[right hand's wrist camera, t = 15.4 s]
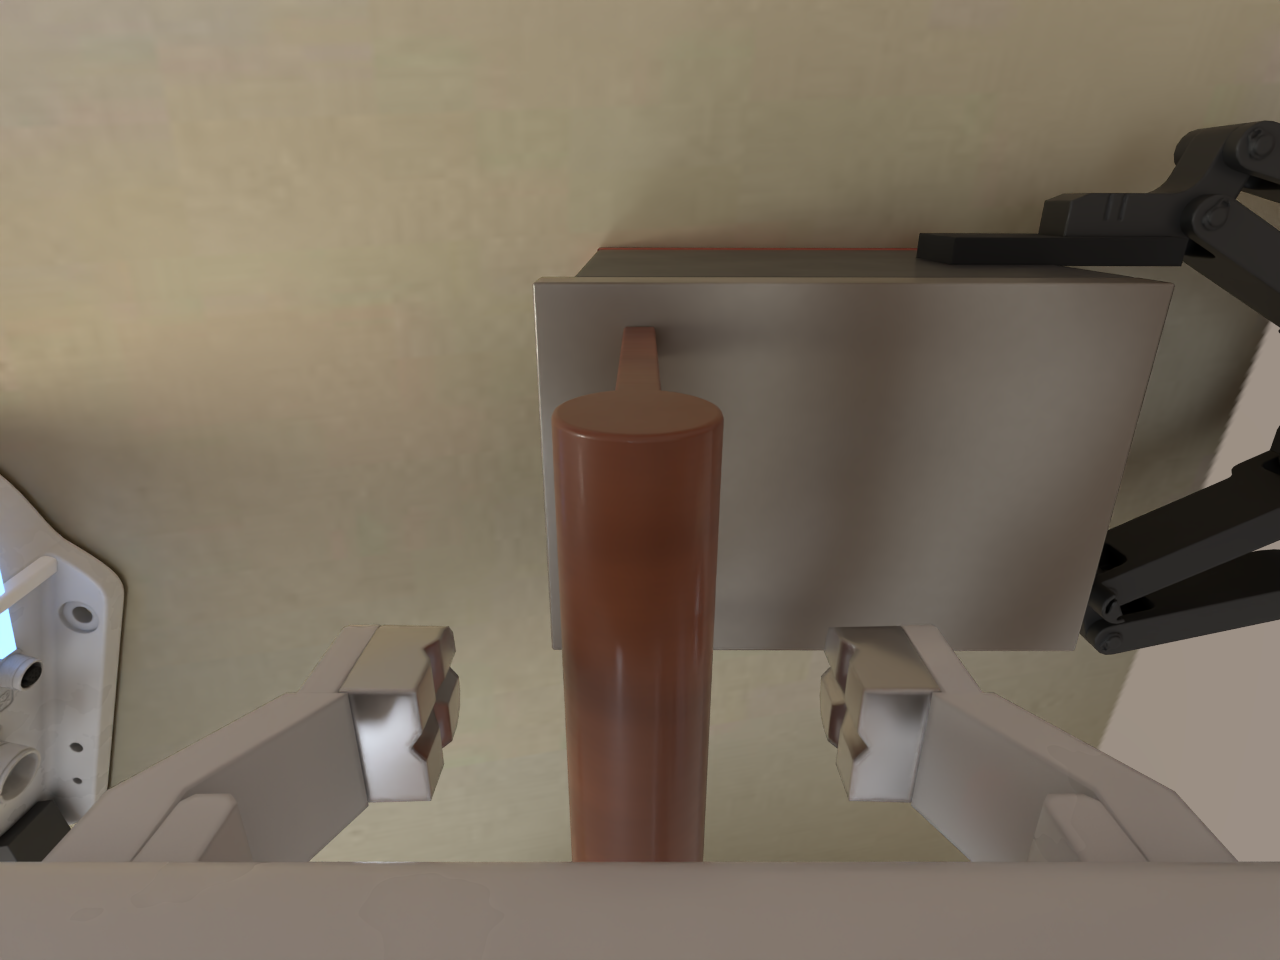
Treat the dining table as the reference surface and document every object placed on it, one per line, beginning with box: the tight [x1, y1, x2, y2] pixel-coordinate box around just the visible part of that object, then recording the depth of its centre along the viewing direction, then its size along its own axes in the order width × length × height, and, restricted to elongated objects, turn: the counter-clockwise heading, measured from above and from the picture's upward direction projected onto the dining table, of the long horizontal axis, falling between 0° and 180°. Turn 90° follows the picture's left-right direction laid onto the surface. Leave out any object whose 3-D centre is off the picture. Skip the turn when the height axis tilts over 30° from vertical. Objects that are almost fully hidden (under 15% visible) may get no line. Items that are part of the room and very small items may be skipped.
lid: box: [533, 277, 1174, 862], centre depth 14 cm, size 14×10×10 cm
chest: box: [575, 248, 1133, 278], centre depth 23 cm, size 13×10×11 cm
